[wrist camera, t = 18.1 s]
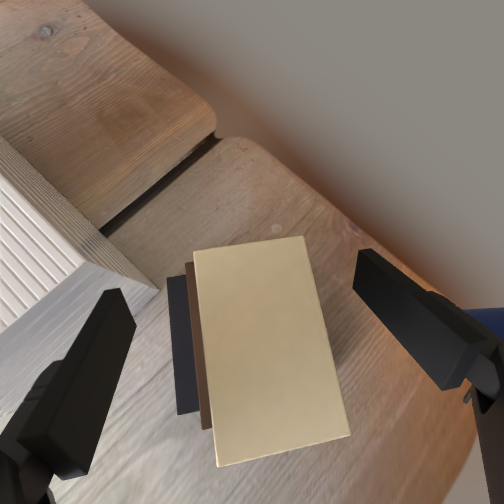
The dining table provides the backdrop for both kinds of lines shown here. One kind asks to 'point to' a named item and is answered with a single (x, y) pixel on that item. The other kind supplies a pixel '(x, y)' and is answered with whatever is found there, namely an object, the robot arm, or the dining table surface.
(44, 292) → the stack of papers
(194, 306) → the square socket base
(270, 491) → the dining table surface
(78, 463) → the robot arm
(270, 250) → the cream rectangular block
